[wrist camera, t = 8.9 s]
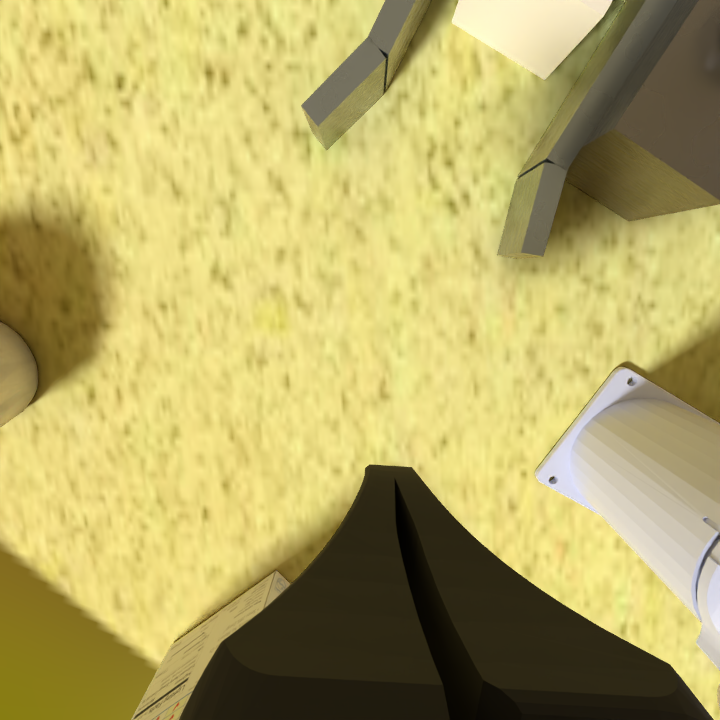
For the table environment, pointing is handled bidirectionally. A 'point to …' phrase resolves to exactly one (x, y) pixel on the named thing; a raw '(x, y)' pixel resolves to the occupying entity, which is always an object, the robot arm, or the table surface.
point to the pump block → (531, 28)
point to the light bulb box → (201, 651)
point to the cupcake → (15, 374)
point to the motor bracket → (583, 115)
